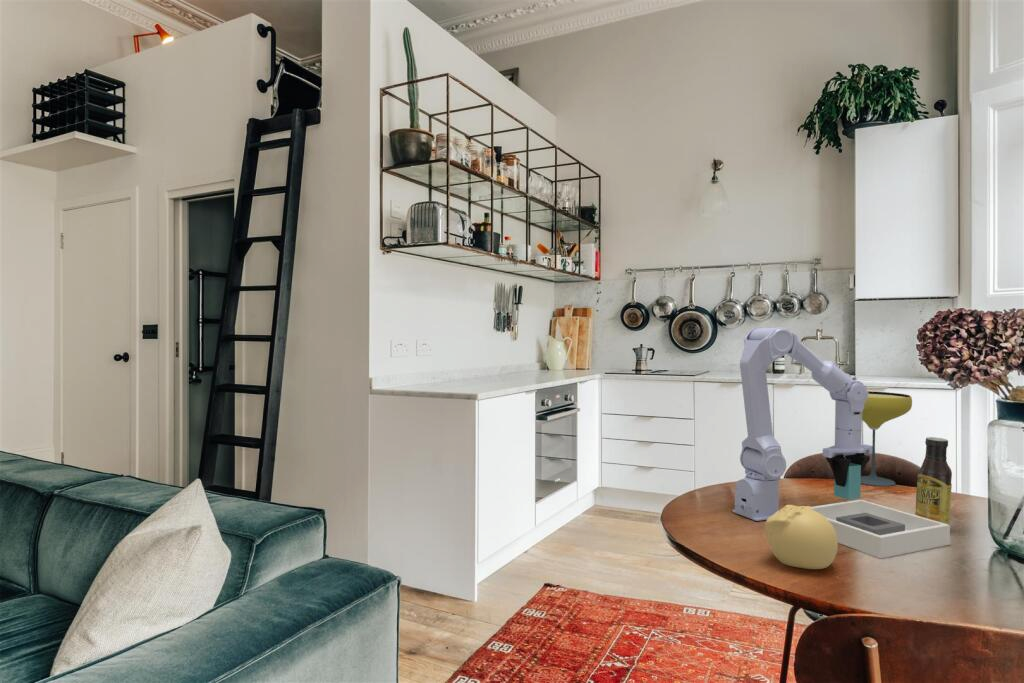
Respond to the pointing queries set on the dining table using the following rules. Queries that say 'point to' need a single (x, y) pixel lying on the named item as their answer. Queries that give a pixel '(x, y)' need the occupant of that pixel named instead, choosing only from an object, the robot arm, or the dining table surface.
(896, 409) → the cocktail glass
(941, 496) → the sauce bottle
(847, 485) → the block
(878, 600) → the dining table surface
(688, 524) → the dining table surface
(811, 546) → the sculpture
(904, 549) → the box
